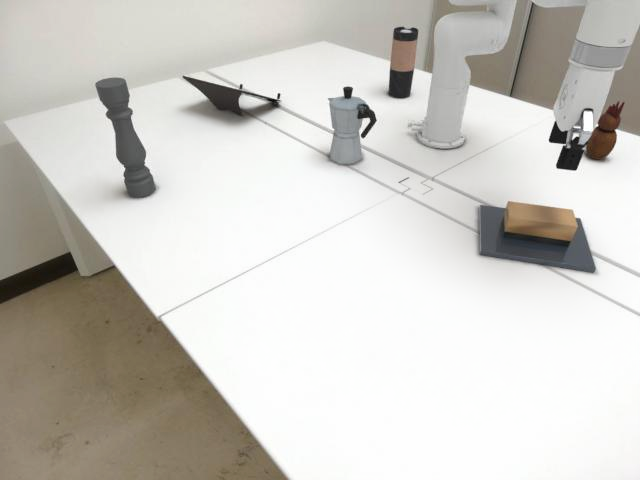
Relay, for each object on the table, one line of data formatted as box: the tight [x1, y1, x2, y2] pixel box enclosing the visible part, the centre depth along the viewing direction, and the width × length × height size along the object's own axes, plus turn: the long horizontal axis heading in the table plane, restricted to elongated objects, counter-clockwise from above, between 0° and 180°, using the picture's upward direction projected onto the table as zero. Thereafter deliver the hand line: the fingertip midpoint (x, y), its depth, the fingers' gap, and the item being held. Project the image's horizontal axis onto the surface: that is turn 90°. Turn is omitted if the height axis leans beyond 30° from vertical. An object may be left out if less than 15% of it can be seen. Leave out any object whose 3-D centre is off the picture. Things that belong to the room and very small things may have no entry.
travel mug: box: [388, 26, 419, 99], centre depth 144 cm, size 8×8×20 cm
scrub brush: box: [502, 200, 578, 247], centre depth 89 cm, size 12×6×5 cm, turn 75°
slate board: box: [478, 204, 597, 273], centre depth 90 cm, size 20×16×1 cm
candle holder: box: [94, 76, 157, 199], centre depth 97 cm, size 6×6×25 cm
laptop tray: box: [181, 75, 282, 117], centre depth 140 cm, size 23×23×9 cm
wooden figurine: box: [585, 101, 626, 160], centre depth 112 cm, size 7×6×15 cm
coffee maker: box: [327, 85, 377, 166], centre depth 111 cm, size 15×9×18 cm, turn 47°
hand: (561, 155), depth 79 cm, fingers open, 9 cm apart
